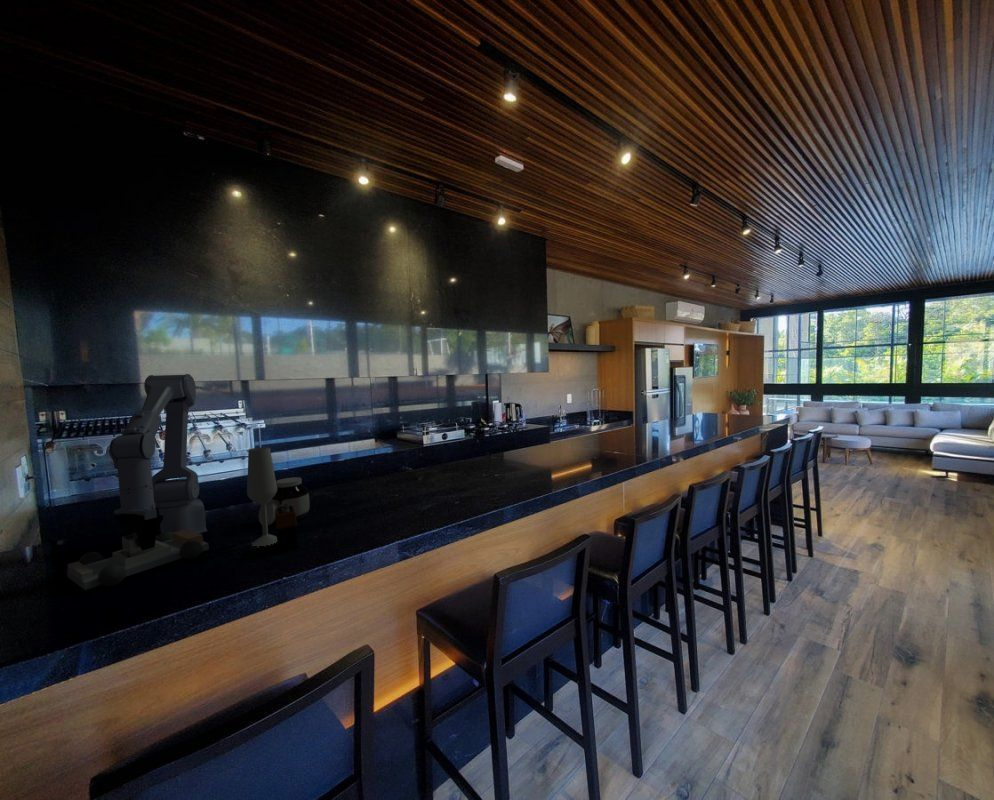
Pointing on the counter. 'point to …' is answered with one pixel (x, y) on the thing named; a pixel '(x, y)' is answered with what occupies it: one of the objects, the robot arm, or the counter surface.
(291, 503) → the spread jar
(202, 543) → the car chassis
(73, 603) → the counter surface
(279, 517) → the battery
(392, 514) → the counter surface
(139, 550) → the engine block
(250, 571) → the counter surface
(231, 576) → the counter surface
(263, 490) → the champagne flute
